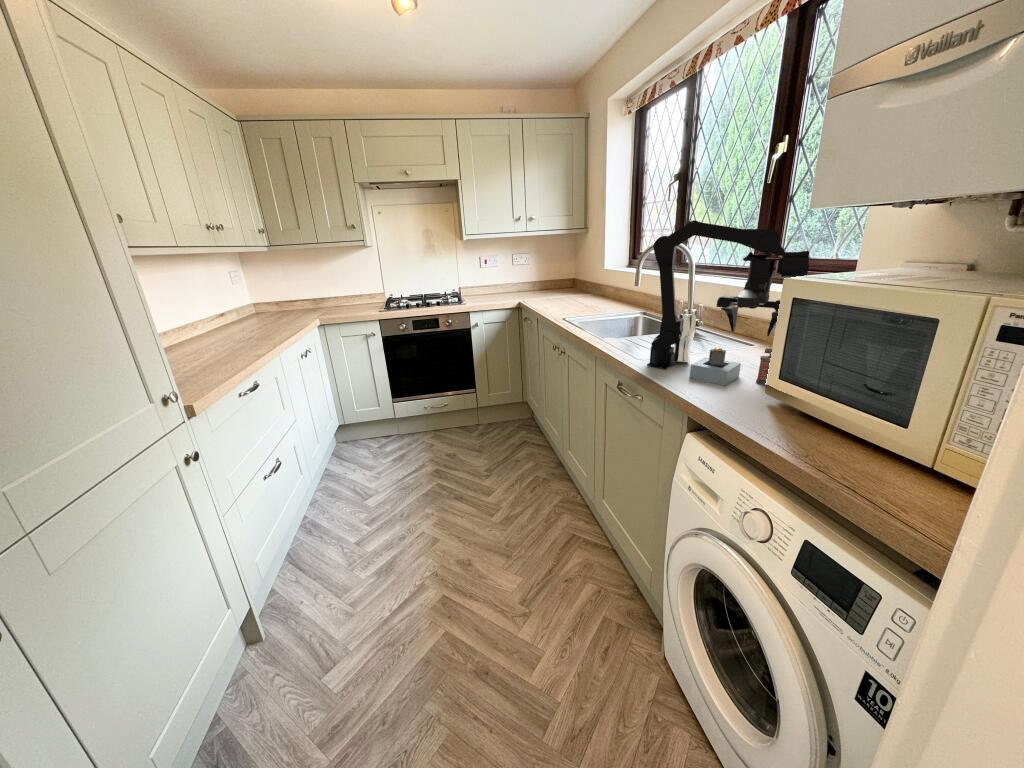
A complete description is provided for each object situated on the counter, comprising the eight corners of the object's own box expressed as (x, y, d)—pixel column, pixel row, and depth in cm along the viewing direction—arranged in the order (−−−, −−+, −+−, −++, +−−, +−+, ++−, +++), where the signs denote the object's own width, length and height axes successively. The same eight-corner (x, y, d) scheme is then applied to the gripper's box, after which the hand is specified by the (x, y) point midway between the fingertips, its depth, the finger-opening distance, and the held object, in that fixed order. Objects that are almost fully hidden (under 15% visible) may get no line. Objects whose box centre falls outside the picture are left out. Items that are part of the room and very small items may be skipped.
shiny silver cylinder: (687, 360, 132) (692, 315, 130) (693, 362, 125) (699, 315, 123) (665, 359, 133) (671, 314, 131) (671, 361, 126) (676, 314, 124)
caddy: (689, 377, 115) (691, 364, 114) (703, 369, 122) (705, 357, 120) (725, 385, 108) (727, 371, 107) (738, 376, 115) (741, 363, 113)
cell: (704, 375, 115) (708, 349, 112) (710, 372, 117) (713, 346, 115) (719, 378, 112) (723, 351, 109) (724, 375, 115) (728, 348, 112)
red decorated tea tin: (790, 384, 107) (798, 349, 104) (790, 388, 104) (798, 352, 101) (756, 380, 111) (762, 345, 108) (755, 383, 109) (761, 348, 105)
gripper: (712, 279, 109) (705, 334, 114) (791, 281, 96) (779, 343, 101) (727, 276, 116) (720, 328, 122) (803, 278, 103) (791, 336, 109)
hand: (750, 333), depth 113 cm, fingers open, 9 cm apart
